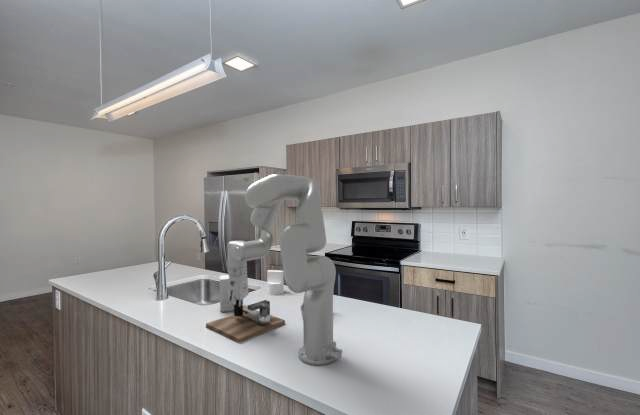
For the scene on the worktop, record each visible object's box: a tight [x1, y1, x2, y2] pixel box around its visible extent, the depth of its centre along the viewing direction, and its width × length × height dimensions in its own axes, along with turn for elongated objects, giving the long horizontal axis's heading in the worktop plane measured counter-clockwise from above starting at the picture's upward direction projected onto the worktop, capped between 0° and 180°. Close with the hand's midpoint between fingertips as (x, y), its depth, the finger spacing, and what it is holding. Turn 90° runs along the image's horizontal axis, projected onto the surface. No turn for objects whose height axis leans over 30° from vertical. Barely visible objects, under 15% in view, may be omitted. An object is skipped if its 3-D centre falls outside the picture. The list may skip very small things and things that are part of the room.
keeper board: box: [205, 299, 286, 344], centre depth 121 cm, size 22×22×8 cm
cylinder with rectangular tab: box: [266, 269, 285, 296], centre depth 166 cm, size 9×9×12 cm
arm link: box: [243, 303, 271, 325], centre depth 123 cm, size 19×4×8 cm, turn 47°
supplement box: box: [219, 274, 234, 313], centre depth 142 cm, size 9×9×15 cm
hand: (238, 315), depth 125 cm, fingers closed
